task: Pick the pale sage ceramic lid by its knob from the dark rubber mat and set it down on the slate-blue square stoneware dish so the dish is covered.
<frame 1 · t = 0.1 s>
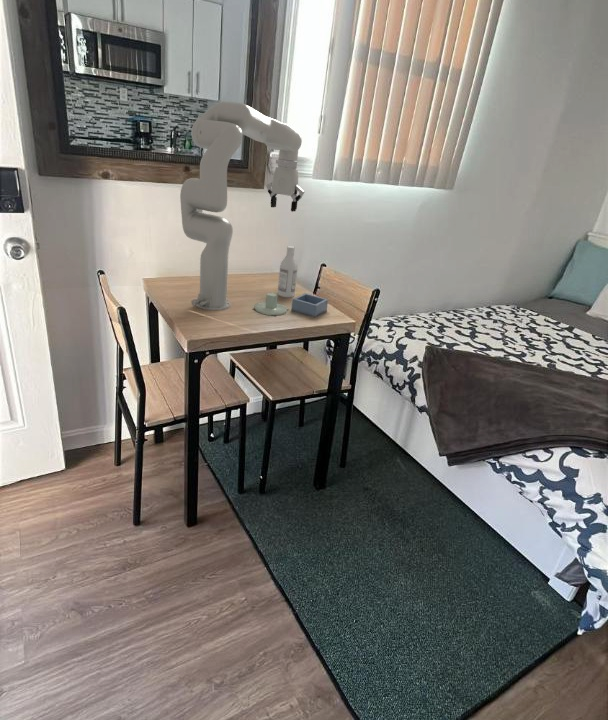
hand: (283, 209, 188), 31 cm above the table, fingers open, 9 cm apart
dish: (309, 311, 171), on the table
lid: (270, 309, 167), resting on mat
mat: (270, 310, 167), on the table
bath foam: (285, 296, 185), on the table
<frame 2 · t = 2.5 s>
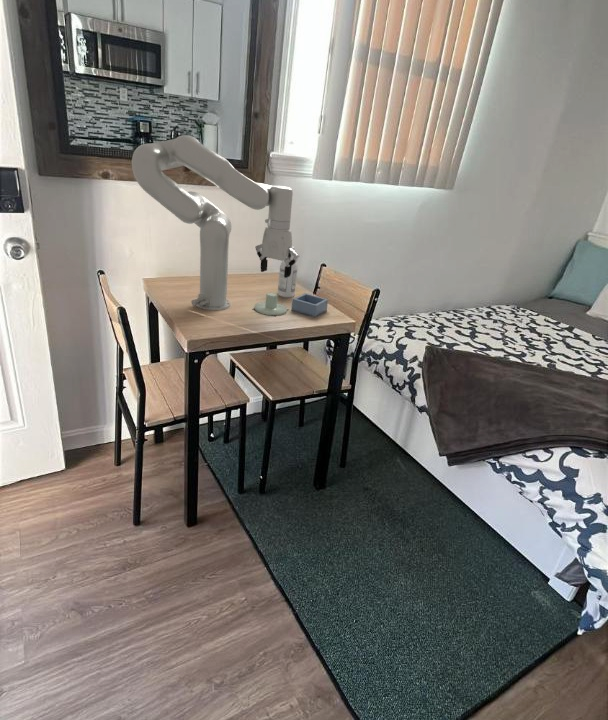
hand: (275, 274, 161), 14 cm above the table, fingers open, 9 cm apart
nothing on the table moved.
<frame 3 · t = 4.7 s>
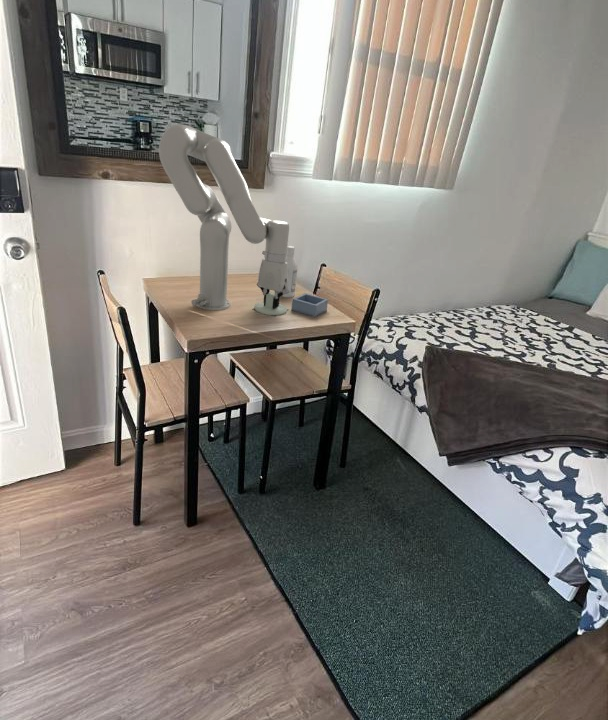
hand: (271, 306, 166), 2 cm above the table, fingers closed on lid, 3 cm apart
lid: (270, 309, 167), point 1 cm above the table, touching gripper, mat
everything else where it was.
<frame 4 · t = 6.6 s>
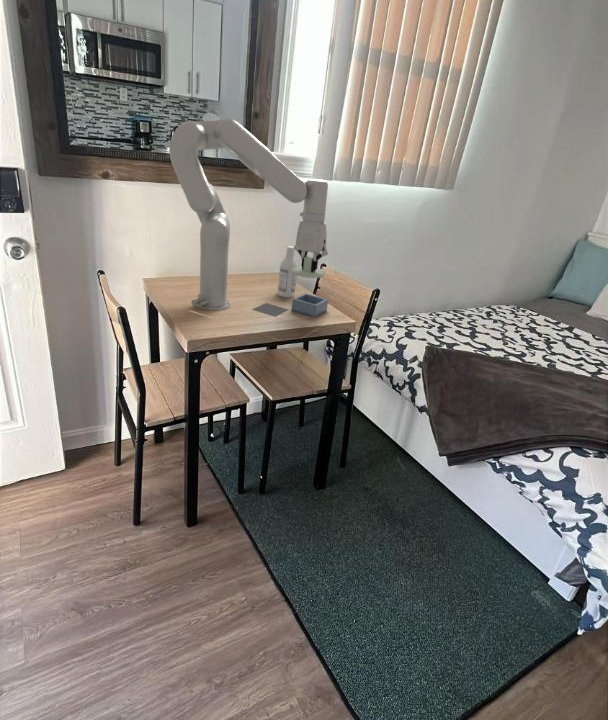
hand: (309, 269, 163), 16 cm above the table, fingers closed on lid, 3 cm apart
lid: (308, 273, 164), point 15 cm above the table, touching gripper
everything else where it was.
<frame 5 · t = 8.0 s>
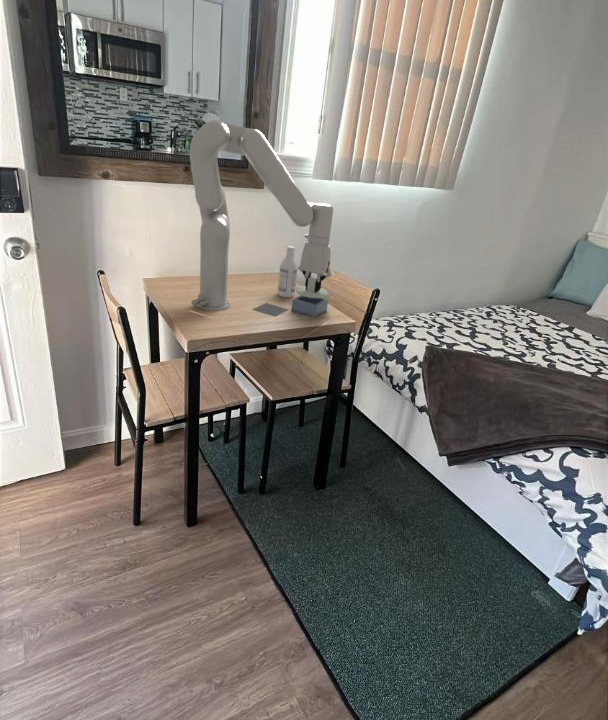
hand: (312, 289, 167), 9 cm above the table, fingers closed on lid, 3 cm apart
lid: (312, 292, 168), point 7 cm above the table, touching gripper
everything else where it was.
when the fingers open (7 cm above the table, at t = 8.9 s): lid drops 1 cm, resting on dish.
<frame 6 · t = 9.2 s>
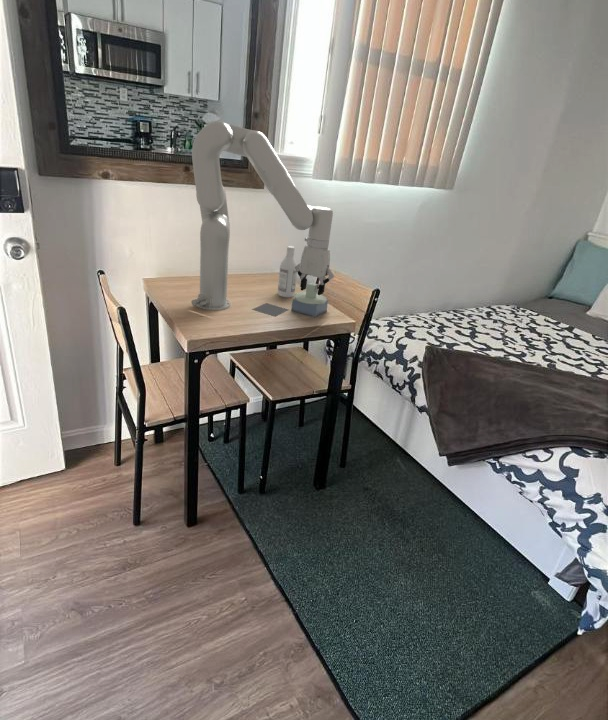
hand: (311, 291, 168), 8 cm above the table, fingers open, 6 cm apart
lid: (310, 299, 169), point 5 cm above the table, touching dish
everything else where it was.
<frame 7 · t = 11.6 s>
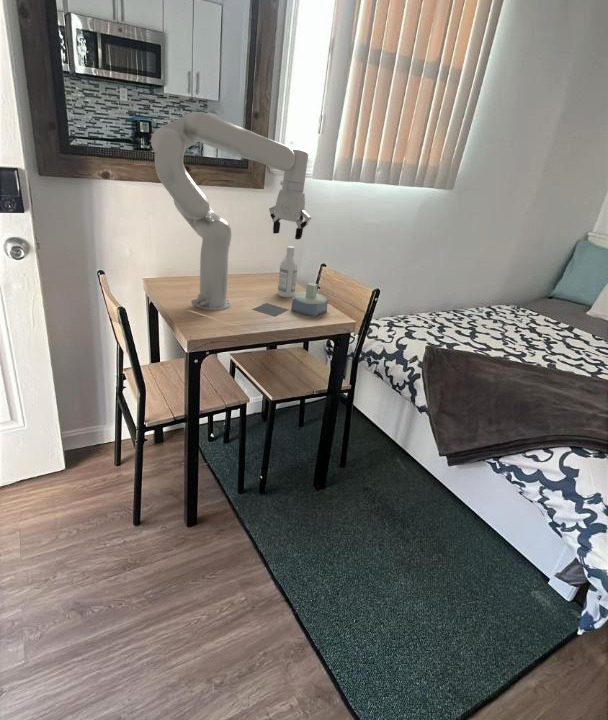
hand: (286, 236, 166), 26 cm above the table, fingers open, 9 cm apart
nothing on the table moved.
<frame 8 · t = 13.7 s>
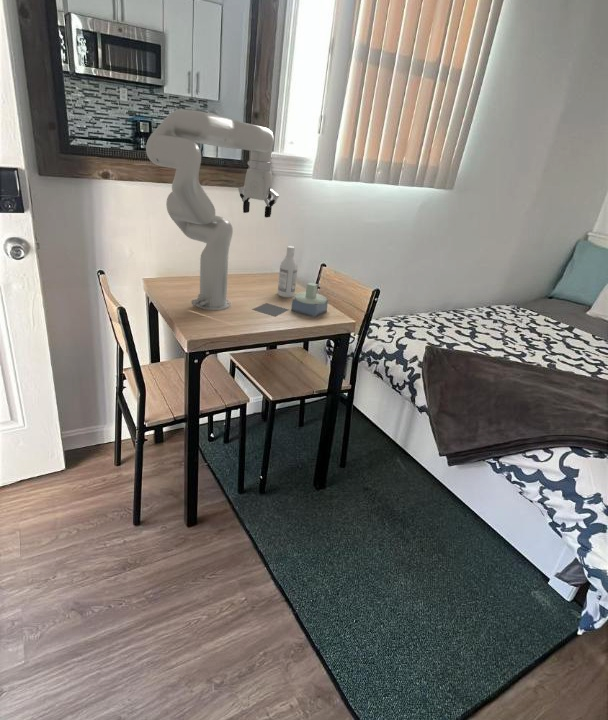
hand: (256, 214, 172), 30 cm above the table, fingers open, 9 cm apart
nothing on the table moved.
at the end: lid 0.1 cm off-centre on the dish, point 5.0 cm above the dish's base; lid tilted 0°; the gripper is holding nothing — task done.
